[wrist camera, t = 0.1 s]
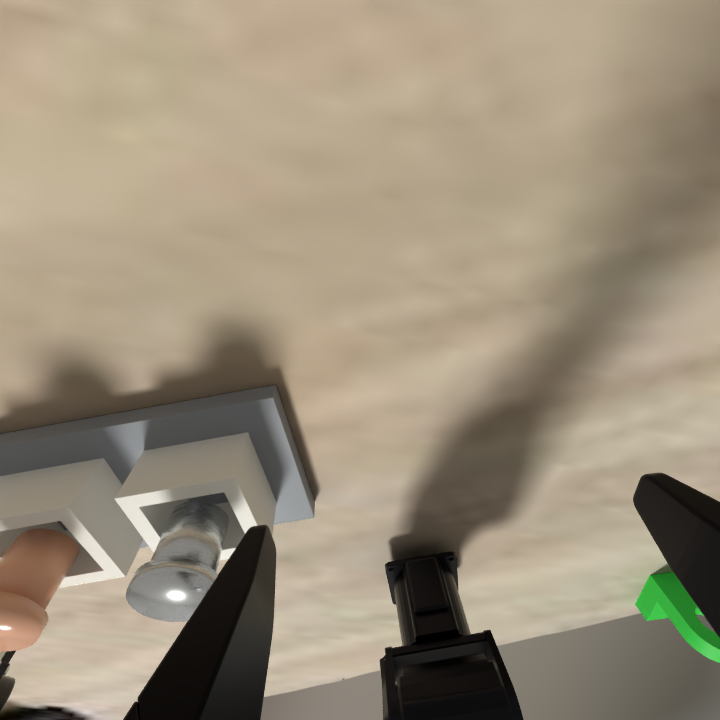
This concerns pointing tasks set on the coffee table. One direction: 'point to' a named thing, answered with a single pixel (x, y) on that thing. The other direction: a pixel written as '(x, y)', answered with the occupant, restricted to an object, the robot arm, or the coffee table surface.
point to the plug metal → (181, 563)
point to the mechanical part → (677, 612)
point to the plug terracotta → (31, 583)
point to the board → (152, 476)
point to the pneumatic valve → (5, 677)
